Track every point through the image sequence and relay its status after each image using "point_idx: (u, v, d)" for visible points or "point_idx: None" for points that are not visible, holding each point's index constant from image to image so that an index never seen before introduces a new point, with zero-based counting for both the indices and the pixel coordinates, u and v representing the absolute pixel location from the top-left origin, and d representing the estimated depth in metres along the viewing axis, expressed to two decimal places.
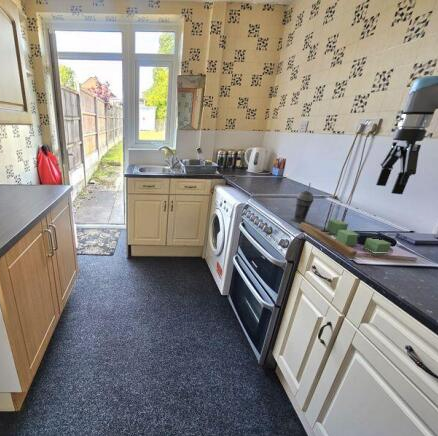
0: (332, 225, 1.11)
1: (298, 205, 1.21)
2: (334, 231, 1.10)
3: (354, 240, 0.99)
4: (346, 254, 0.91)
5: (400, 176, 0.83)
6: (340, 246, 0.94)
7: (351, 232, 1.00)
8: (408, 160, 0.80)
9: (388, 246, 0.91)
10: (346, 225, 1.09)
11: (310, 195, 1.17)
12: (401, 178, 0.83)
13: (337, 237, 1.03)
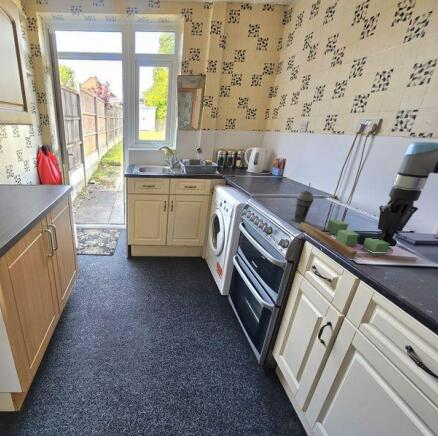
0: (332, 225, 1.11)
1: (298, 205, 1.21)
2: (334, 231, 1.10)
3: (354, 240, 0.99)
4: (346, 254, 0.91)
5: None
6: (340, 246, 0.94)
7: (351, 232, 1.00)
8: (379, 219, 0.91)
9: (387, 246, 0.91)
10: (346, 225, 1.09)
11: (310, 195, 1.17)
12: None
13: (337, 237, 1.03)
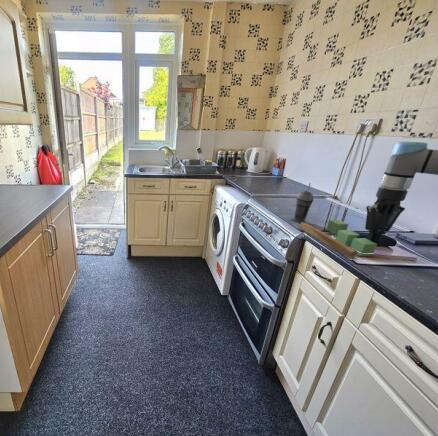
0: (332, 225, 1.11)
1: (298, 205, 1.21)
2: (334, 231, 1.10)
3: None
4: (346, 254, 0.91)
5: None
6: (340, 246, 0.94)
7: (351, 232, 1.00)
8: (366, 219, 0.91)
9: (374, 246, 0.91)
10: (346, 225, 1.09)
11: (310, 195, 1.17)
12: None
13: (337, 237, 1.03)
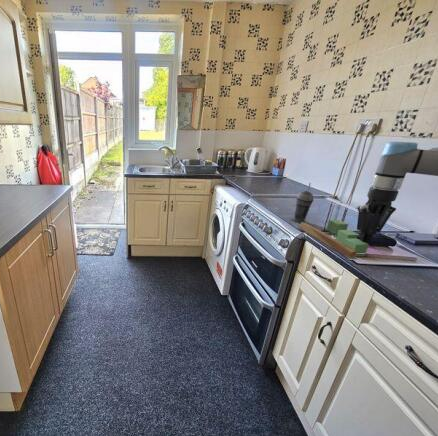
0: (332, 225, 1.11)
1: (298, 205, 1.21)
2: (334, 231, 1.10)
3: None
4: (346, 254, 0.91)
5: None
6: (340, 246, 0.94)
7: (351, 232, 1.00)
8: (358, 219, 0.90)
9: (366, 247, 0.91)
10: (346, 225, 1.09)
11: (310, 195, 1.17)
12: None
13: (337, 237, 1.03)
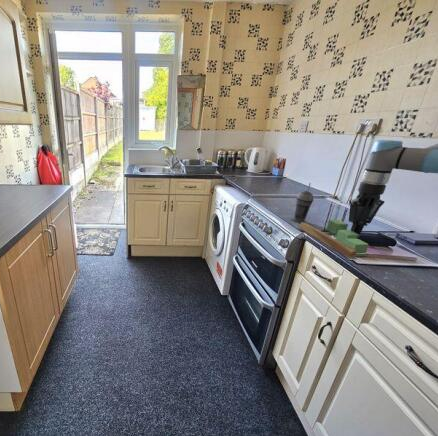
0: (332, 225, 1.11)
1: (298, 205, 1.21)
2: (334, 231, 1.10)
3: None
4: (346, 254, 0.91)
5: None
6: (340, 246, 0.94)
7: (351, 232, 1.00)
8: (350, 212, 0.98)
9: (365, 247, 0.91)
10: (346, 225, 1.09)
11: (310, 195, 1.17)
12: None
13: (337, 237, 1.03)
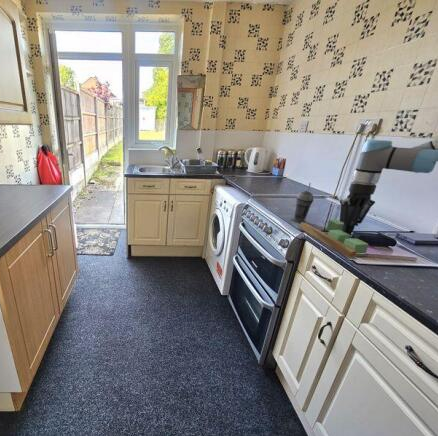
0: (332, 225, 1.11)
1: (298, 205, 1.21)
2: None
3: None
4: (346, 254, 0.91)
5: None
6: (340, 246, 0.94)
7: (342, 232, 1.00)
8: (340, 212, 0.98)
9: (365, 247, 0.91)
10: None
11: (310, 195, 1.17)
12: None
13: None
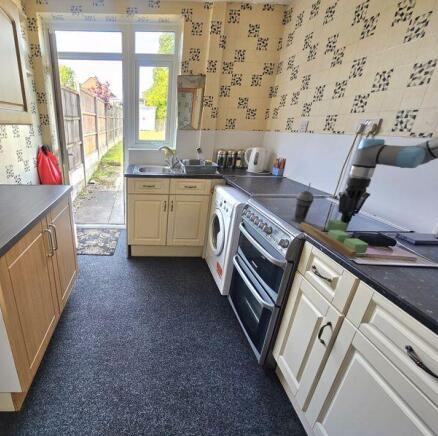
0: (332, 225, 1.11)
1: (298, 205, 1.21)
2: None
3: (344, 240, 0.98)
4: (346, 254, 0.91)
5: None
6: (340, 246, 0.94)
7: (342, 232, 1.00)
8: (339, 203, 1.09)
9: (365, 247, 0.91)
10: (346, 225, 1.09)
11: (310, 195, 1.17)
12: None
13: None
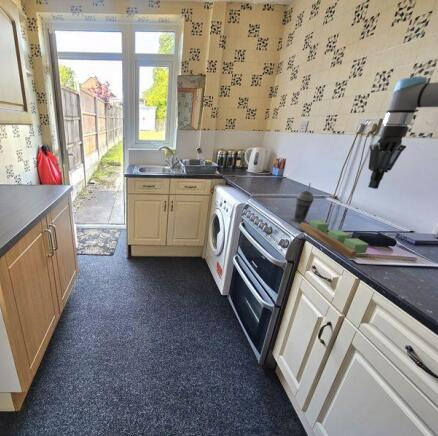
0: (313, 226, 1.10)
1: (298, 205, 1.21)
2: None
3: (344, 240, 0.99)
4: (346, 254, 0.91)
5: None
6: (340, 246, 0.94)
7: (341, 232, 1.00)
8: (370, 158, 0.96)
9: (365, 247, 0.91)
10: (326, 225, 1.08)
11: (310, 195, 1.17)
12: None
13: None
